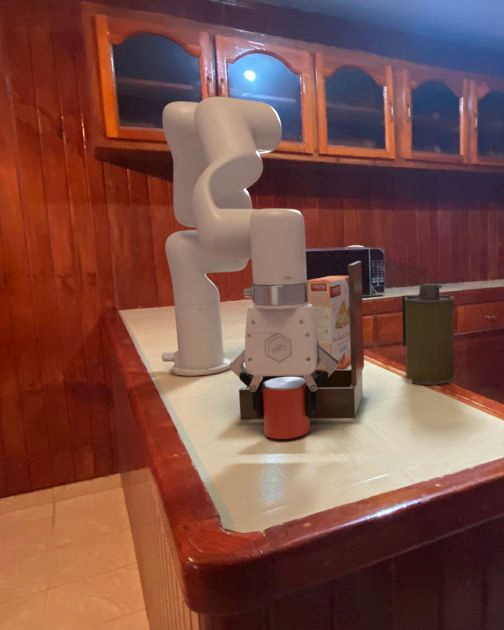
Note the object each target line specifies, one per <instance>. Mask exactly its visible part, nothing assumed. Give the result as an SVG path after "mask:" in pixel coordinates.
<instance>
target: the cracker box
mask: <svg viewBox="0 0 504 630" xmlns="http://www.w3.org/2000/svg"><path fill="white" fill-rule="evenodd" d="M307 295H308V304H312V306H313V310H314V314H315V319H316V324H317V331H318V339H319V346H320V347H322V348H323V349H324V350H325V351H326V352H328V353H329V354H330V355H331V356H332V357H333V358H335V359H336V360H337V361H338V362H339V365H338V366H337V368H336V369H344V368H345V367H347V366H348V365H349V364H351V346H350V312H349V279H348V275H328V276H324V277H323V276H322V277H319V278H313V279H307ZM325 368H326V364H325V363H324V362H322V361H321V360H320V363H319V365H318V366H317V367H316V369H325Z"/></svg>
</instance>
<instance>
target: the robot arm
mask: <svg viewBox="0 0 504 630" xmlns="http://www.w3.org/2000/svg"><path fill="white" fill-rule="evenodd" d="M161 118H162V120H161V121H162V129H163V133H164V137H165V140H166V143H167V145H168V148H169V151H170V153H171V156H172V161H173V162H172V163H173V164H172V165H173V173H172V174H173V175H172V177H173V179H172V181H173V184H172V189H173V190H172V191H173V193H172V198H173V201H172V203H173V214H174V217H175V219H176V221H177V223H178V224H180V225H182V226H184V227H188V228H195V229H188V230H187V229H186V230H178V231H176V232H173V233H172V234H169V236H168V237H167V239H166V241H165V245H164V248H165V255H166V260H167V264H168V268H169V272H170V278H171V283H172V293H173V303H174V304H173V305H174V315H175V326H176V327H175V328H176V340H177V341H176V342H177V350H176V351H174V352H172V351H163V352H162V354H161V360H162V362H164V363H169V362H173V363H174V365H172V367H171V371H172V373H173V375H177V376H184V377H185V376H186V377H189V376H190V377H192V376H193V377H194V376H205V375H214V374H219V373H221V372H225V371H227V370H231V372H233V374H234V375H236V376H237V377H238V378H239V380H240V382H242V383H243V385H247V386H248V387H249V390H250V391H251V392H252V396H253V410H254V411H256V413H257V418H261V417H263V416H264V413H263V395H262V385H263V381H264V379H265V377H266V376H303V378H304V380H305V382H306V384H307V385H308V390H307V391H306V412H307V417H308V418H312V416H313V415H314V413H315V410H318V408H319V397H318V388H319V386H320V385H321V384H322V383H323V382H324V381H325V380H326V379H327V378H328V377H329V376H330V375H331V374H332V372H333V371H334V370H335V369H336V368H337V366H338V365H339V362H338V361H337V360H336V359H335V358H333V357H332V356H331V355H330V354H329V353H328V352H326V351H325V350H324V349H323V348H322V347H320V346H319V339H318V331H317V324H316V319H315V314H314V310H313V306H312V304H308V295H307V280H308V275H307V252H306V251H307V250H306V225H305V219H304V214H302V212H300V211H299V210H297V209H293V208H261V209H259V208H258V209H257V208H253V203H252V198H251V196H250V192H249V191H248V190H247V189H248V188H249V187H251V186H253V185H254V184H255V183H256V182H257V181H259V179H260V178H261V176H262V174H263V170H264V164H263V159H262V157H261V155H260V154H267V153H271V152H274V151H275V150H276V149H277V148H278V147H279V146H280V144H281V141H282V135H283V134H282V132H283V131H282V130H283V129H282V123H281V119H280V117H279V114H278V112H277V111H276V109H274V108H273V106H271V104H268V103H266V102H262V101H256V100H250V99H249V100H248V99H242V98H235V97H227V96H210V97H207V98H204V99H202V100H201V101H199V102H195V101H173V102H170V103H167V104H166V105H165V107H164V108H163V111H162V117H161ZM249 260H251V272H252V284H251V287H249V288H248V287H247V288H243V293H242V294H243V297H244V298H249V299H251V301H252V304H253V305H250V306H248V308H247V311H246V312H247V313H246V321H245V335H244V350H243V351H242V352H241V353H240V354H239V355H238V356H237V357H235V358H234V360H232V361H231V360H230V359H227V358H224V356H225V355H224V343H223V341H224V340H223V326H222V310H221V298H220V297H221V295H220V292H219V289H218V287H217V286H216V285H215V283H213V282H212V281H211V280H210V279H209V278H208V276H207V274H212V273H229V272H230V273H231V272H239V271H242V270H244V269H245V268H246V267H247V266H248V262H249ZM320 360H321V361H322V362H324V363H325V364H326V368H325V369H324V370H323V371H322V372H321V373H320V374H319V375H318V376H317V374H316V372H315V369H316V367H317V366H318V365H319V363H320Z"/></svg>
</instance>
